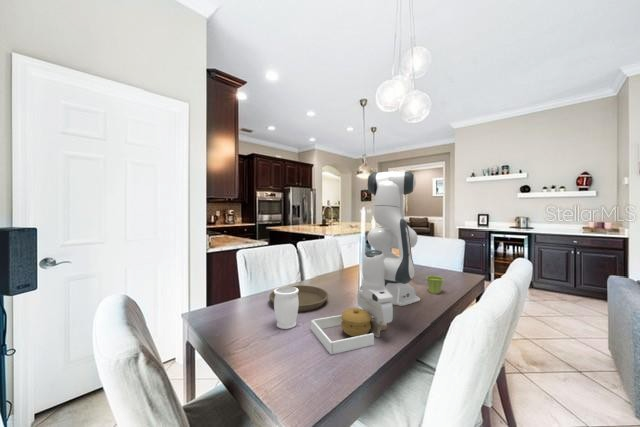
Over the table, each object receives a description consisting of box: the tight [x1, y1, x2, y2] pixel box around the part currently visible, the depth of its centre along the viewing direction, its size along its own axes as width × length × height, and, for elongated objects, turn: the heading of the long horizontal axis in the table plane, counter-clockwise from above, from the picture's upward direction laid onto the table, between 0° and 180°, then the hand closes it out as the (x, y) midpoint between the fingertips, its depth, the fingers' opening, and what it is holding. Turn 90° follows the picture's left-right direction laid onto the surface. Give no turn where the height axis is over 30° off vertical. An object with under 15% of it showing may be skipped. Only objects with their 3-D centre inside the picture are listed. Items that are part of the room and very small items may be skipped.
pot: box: [340, 307, 371, 337], centre depth 104 cm, size 12×12×10 cm
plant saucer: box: [268, 284, 329, 313], centre depth 139 cm, size 31×31×5 cm
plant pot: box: [425, 275, 444, 295], centre depth 154 cm, size 9×9×9 cm
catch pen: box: [310, 314, 375, 355], centre depth 101 cm, size 17×20×4 cm
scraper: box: [369, 316, 388, 338], centre depth 107 cm, size 8×12×4 cm, turn 22°
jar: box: [273, 286, 299, 330], centre depth 112 cm, size 11×10×15 cm
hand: (373, 324), depth 106 cm, fingers closed on scraper, 3 cm apart
